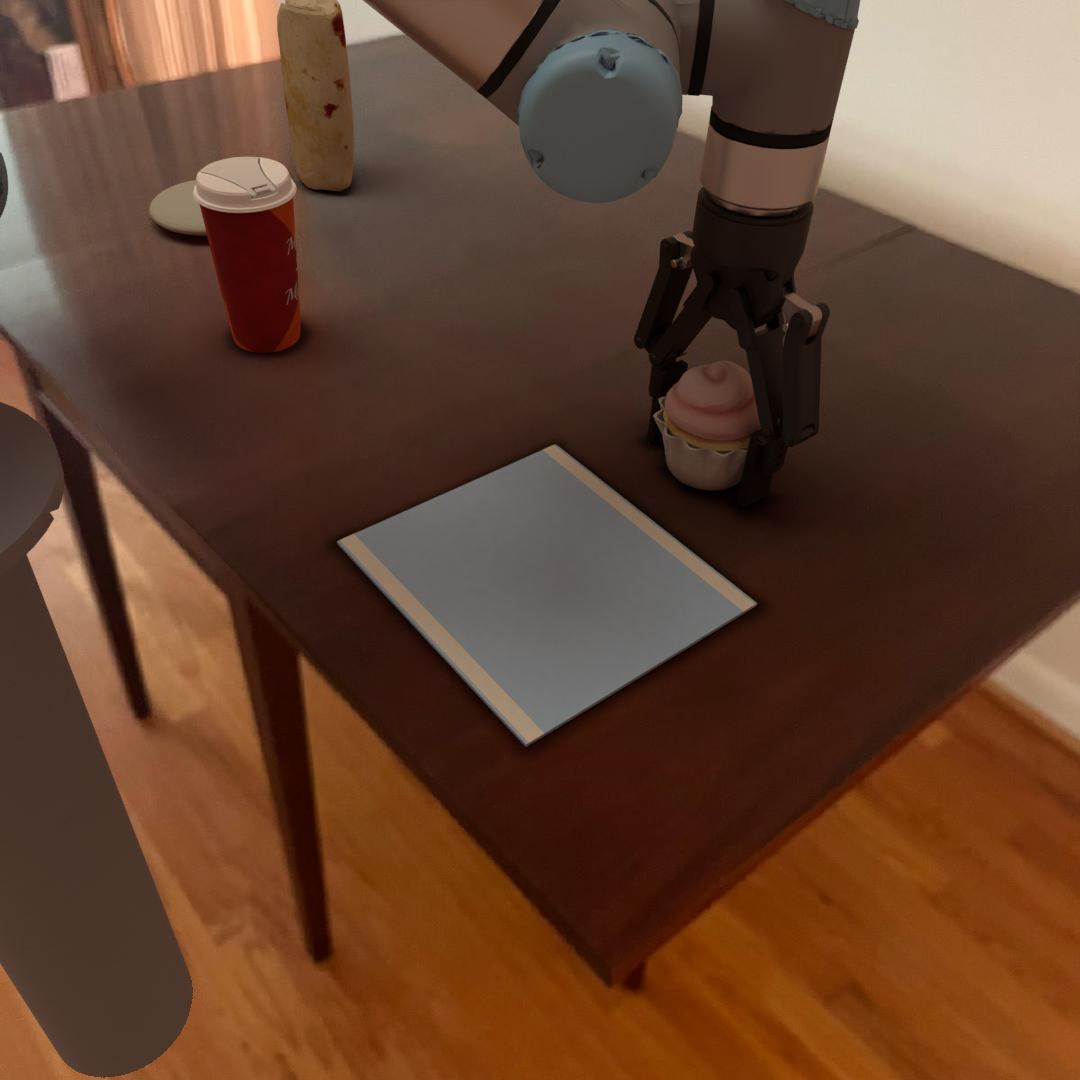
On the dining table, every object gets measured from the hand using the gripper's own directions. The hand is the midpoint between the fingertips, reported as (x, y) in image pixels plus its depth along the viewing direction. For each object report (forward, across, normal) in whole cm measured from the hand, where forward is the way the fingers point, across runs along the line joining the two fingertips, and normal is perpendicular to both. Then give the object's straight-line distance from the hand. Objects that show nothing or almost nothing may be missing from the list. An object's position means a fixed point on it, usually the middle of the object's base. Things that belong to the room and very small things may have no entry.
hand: (705, 465), depth 83 cm
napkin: (0, -2, +18) cm, 18 cm away
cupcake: (0, 0, 0) cm, 0 cm away
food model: (0, +63, -2) cm, 63 cm away
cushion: (0, +61, +13) cm, 62 cm away
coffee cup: (0, +37, +19) cm, 42 cm away
